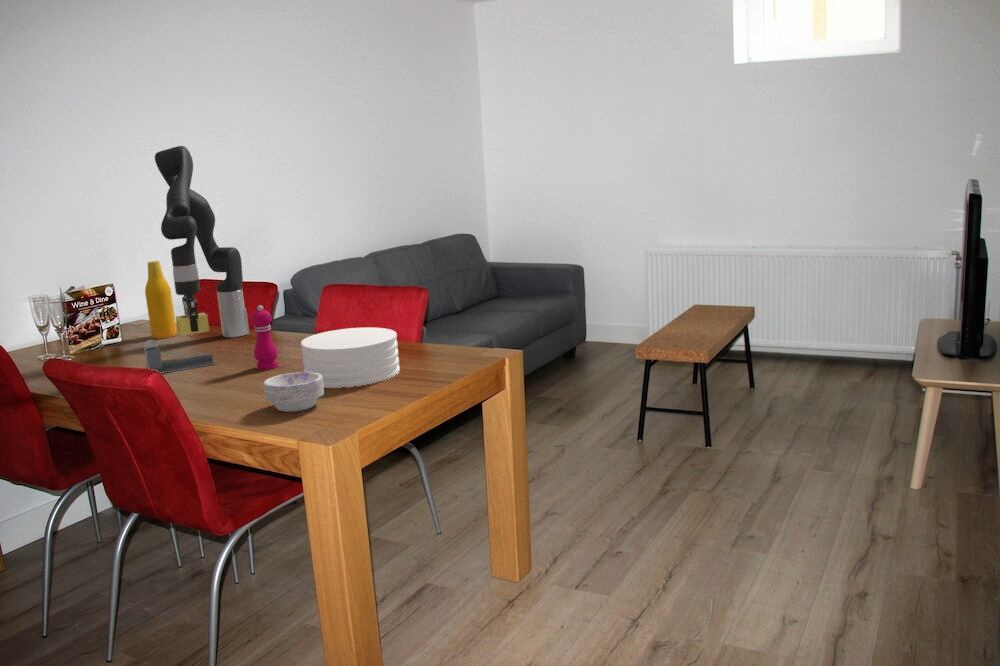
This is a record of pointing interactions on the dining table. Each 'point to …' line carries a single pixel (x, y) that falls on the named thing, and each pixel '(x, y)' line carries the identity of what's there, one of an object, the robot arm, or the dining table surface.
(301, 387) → the paper bowls
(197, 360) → the grey fixture stand
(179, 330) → the yellow block
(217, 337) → the dining table surface
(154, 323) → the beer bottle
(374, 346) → the plate stack
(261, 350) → the pepper mill
